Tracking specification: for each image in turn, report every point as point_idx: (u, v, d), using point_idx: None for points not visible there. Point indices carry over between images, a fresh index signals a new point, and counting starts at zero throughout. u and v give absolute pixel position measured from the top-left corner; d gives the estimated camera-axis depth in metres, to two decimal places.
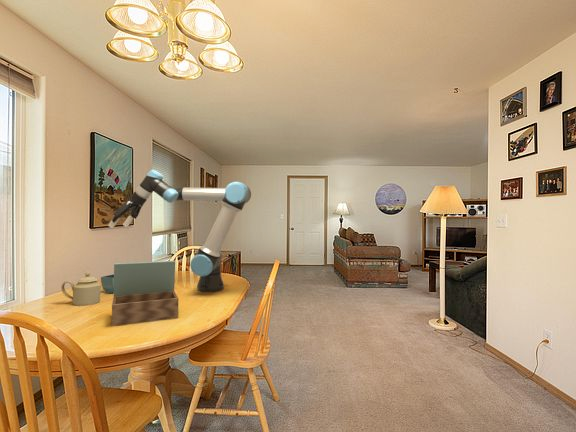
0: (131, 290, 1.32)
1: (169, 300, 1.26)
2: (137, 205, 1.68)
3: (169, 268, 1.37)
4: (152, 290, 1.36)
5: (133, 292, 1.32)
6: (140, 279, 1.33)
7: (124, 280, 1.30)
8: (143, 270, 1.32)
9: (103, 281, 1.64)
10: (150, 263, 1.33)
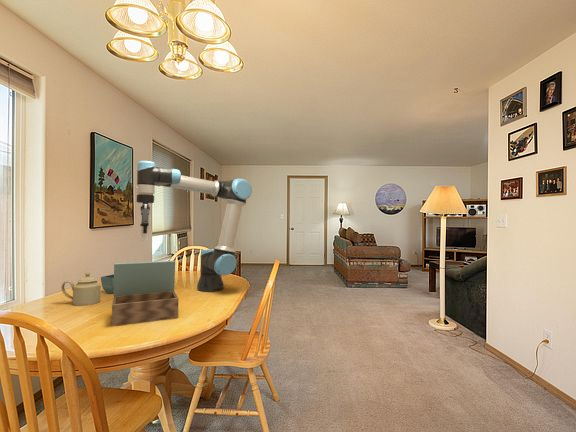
0: (131, 290, 1.32)
1: (169, 300, 1.26)
2: None
3: (169, 268, 1.37)
4: (152, 290, 1.36)
5: (133, 292, 1.32)
6: (140, 279, 1.33)
7: (124, 280, 1.30)
8: (143, 270, 1.32)
9: (103, 281, 1.64)
10: (150, 263, 1.33)
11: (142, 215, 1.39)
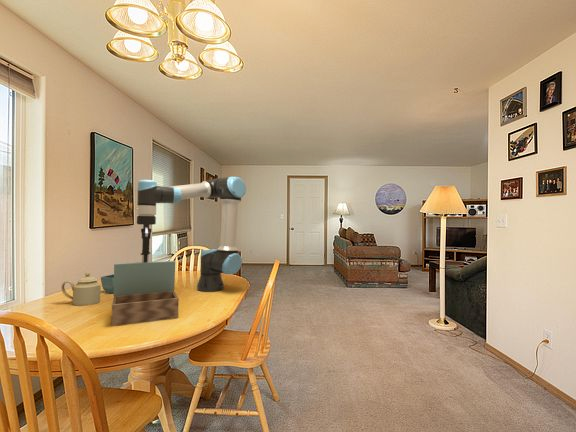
0: (131, 290, 1.32)
1: (169, 300, 1.26)
2: None
3: (169, 268, 1.37)
4: (152, 290, 1.36)
5: (133, 292, 1.32)
6: (140, 279, 1.32)
7: (124, 280, 1.30)
8: (143, 270, 1.32)
9: (103, 281, 1.64)
10: (150, 263, 1.33)
11: None
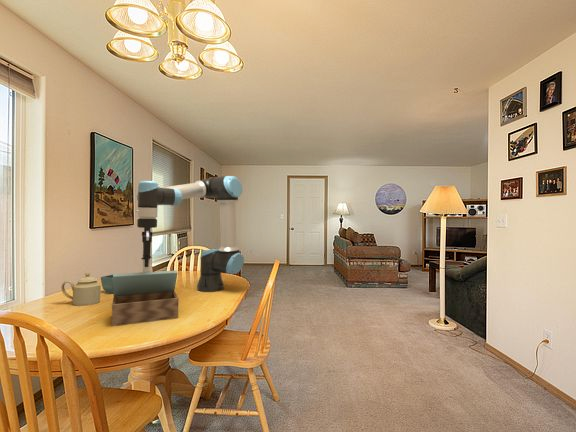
0: (131, 292, 1.31)
1: (169, 300, 1.26)
2: None
3: (170, 277, 1.32)
4: (152, 291, 1.35)
5: (133, 293, 1.32)
6: (140, 285, 1.29)
7: (124, 286, 1.27)
8: (143, 279, 1.27)
9: (103, 281, 1.64)
10: (151, 274, 1.27)
11: None
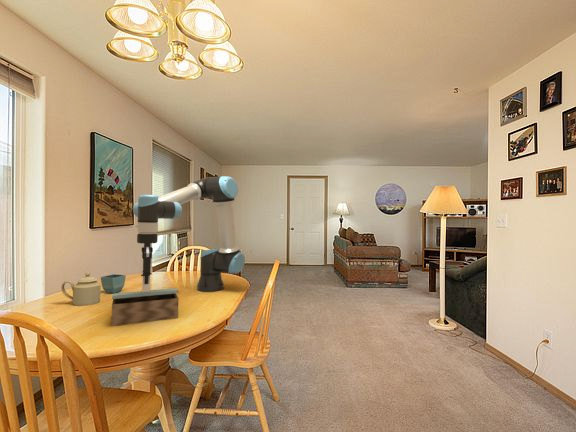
0: None
1: (169, 300, 1.26)
2: None
3: None
4: None
5: None
6: None
7: None
8: None
9: (103, 281, 1.64)
10: (151, 295, 1.23)
11: None
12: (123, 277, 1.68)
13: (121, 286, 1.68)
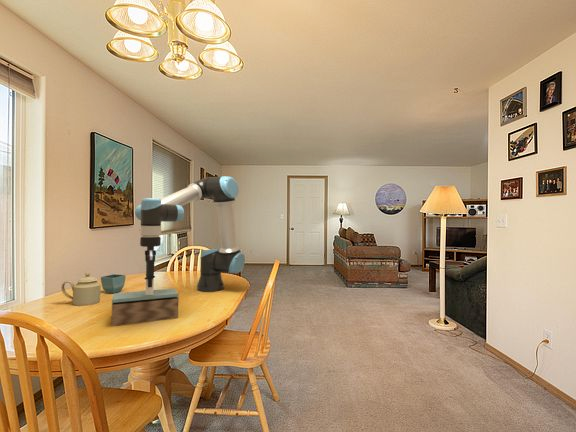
0: None
1: (169, 300, 1.26)
2: None
3: None
4: None
5: None
6: None
7: None
8: None
9: (103, 281, 1.64)
10: (151, 298, 1.23)
11: None
12: (123, 277, 1.68)
13: (121, 286, 1.68)
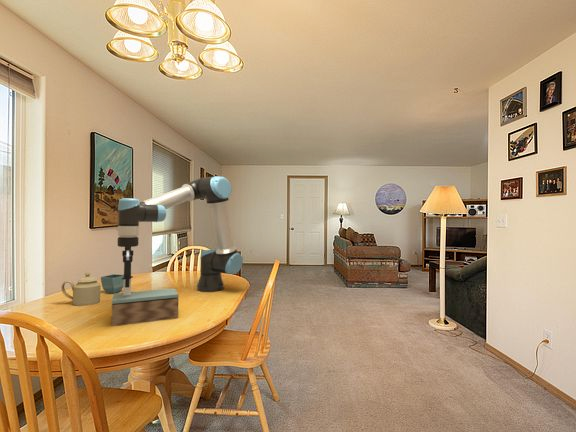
0: None
1: (169, 300, 1.26)
2: None
3: None
4: None
5: None
6: None
7: None
8: None
9: (103, 281, 1.64)
10: (151, 299, 1.23)
11: None
12: (123, 277, 1.68)
13: (121, 286, 1.68)
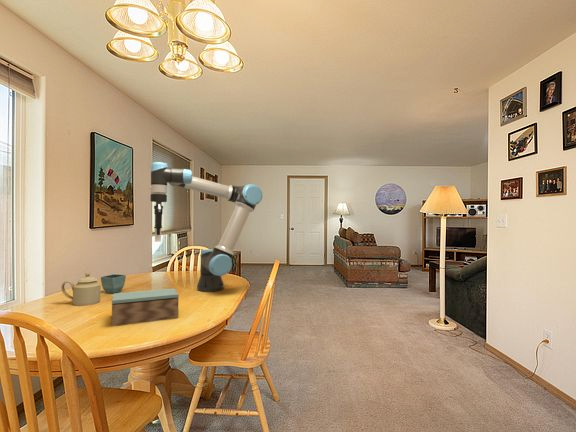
0: None
1: (169, 300, 1.26)
2: None
3: None
4: None
5: None
6: None
7: None
8: None
9: (103, 281, 1.64)
10: (151, 299, 1.23)
11: None
12: (123, 277, 1.68)
13: (121, 286, 1.68)
